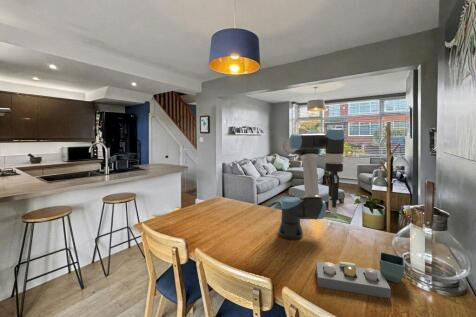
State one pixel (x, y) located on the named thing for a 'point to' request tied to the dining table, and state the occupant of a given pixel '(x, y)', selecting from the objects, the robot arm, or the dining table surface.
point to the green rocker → (346, 264)
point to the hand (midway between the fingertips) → (332, 211)
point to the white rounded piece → (329, 268)
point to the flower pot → (392, 267)
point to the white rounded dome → (371, 274)
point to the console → (352, 281)
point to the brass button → (349, 271)
